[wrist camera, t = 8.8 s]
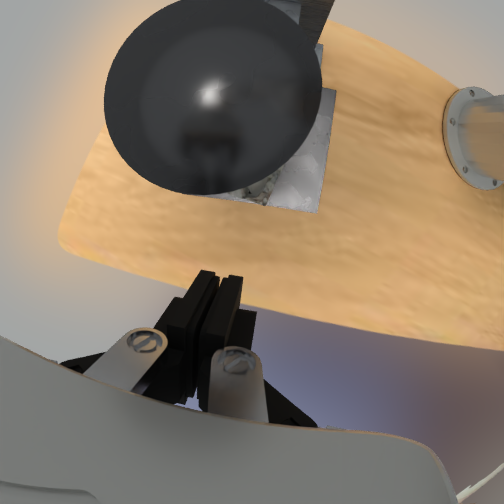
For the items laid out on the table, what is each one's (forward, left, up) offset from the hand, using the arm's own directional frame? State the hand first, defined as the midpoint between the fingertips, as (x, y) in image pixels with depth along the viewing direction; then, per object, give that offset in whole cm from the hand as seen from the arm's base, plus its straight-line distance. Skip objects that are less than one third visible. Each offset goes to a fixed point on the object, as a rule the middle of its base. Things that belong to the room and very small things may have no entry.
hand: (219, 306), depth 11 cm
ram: (0, -7, -9) cm, 12 cm away
